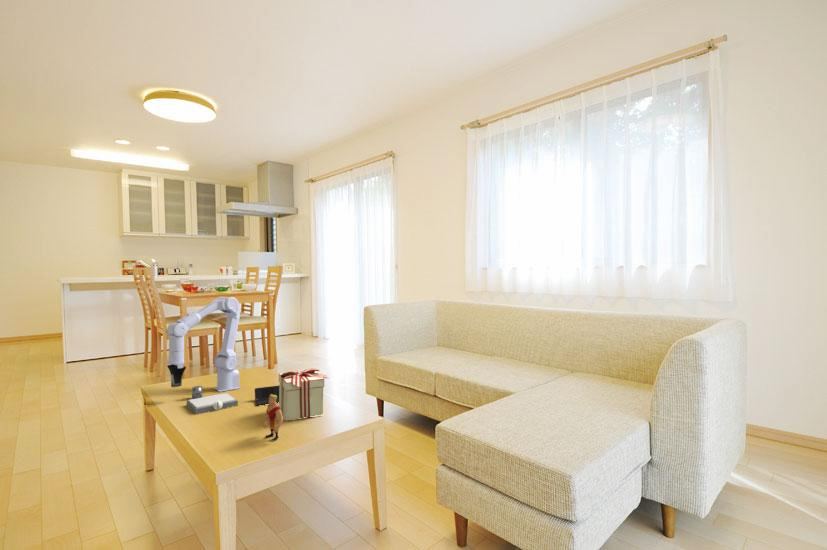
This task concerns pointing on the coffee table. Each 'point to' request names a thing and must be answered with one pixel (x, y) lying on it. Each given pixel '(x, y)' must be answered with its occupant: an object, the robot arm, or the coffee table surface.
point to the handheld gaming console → (265, 394)
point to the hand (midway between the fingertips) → (176, 382)
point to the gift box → (301, 394)
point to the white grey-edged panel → (211, 403)
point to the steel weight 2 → (196, 392)
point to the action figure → (273, 416)
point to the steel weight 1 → (174, 382)
